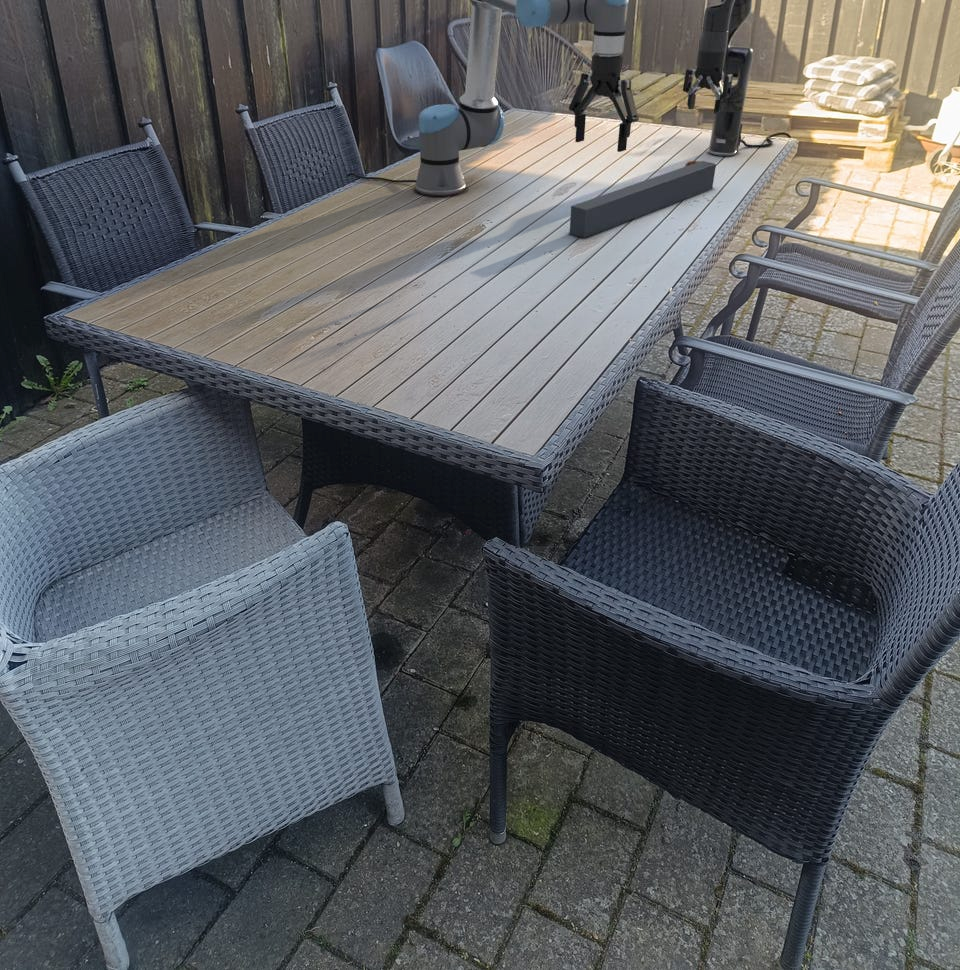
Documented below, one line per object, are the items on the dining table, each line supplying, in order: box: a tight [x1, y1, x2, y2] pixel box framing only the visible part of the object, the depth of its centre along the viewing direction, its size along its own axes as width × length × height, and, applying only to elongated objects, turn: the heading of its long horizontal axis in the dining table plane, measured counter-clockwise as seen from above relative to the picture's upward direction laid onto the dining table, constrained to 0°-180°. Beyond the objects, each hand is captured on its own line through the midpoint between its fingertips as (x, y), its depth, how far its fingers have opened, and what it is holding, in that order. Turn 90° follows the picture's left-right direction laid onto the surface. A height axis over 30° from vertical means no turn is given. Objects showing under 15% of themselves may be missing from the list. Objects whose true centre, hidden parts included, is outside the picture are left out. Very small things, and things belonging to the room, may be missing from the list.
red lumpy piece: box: [684, 160, 699, 167], centre depth 270 cm, size 6×4×8 cm
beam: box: [569, 160, 717, 239], centre depth 241 cm, size 63×5×7 cm, turn 135°
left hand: (600, 146), depth 216 cm, fingers open, 13 cm apart
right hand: (703, 111), depth 243 cm, fingers open, 8 cm apart
